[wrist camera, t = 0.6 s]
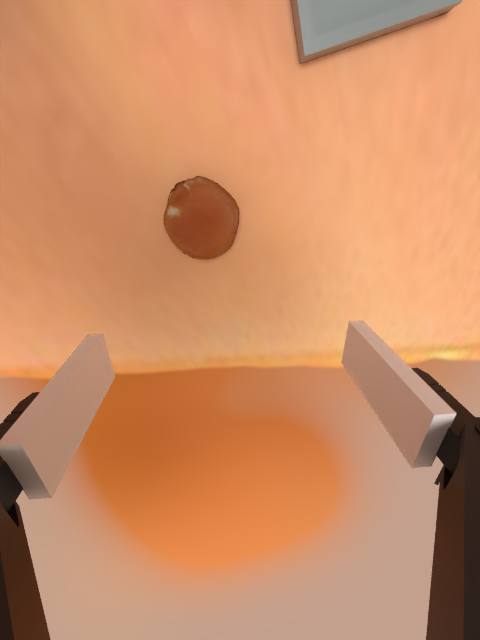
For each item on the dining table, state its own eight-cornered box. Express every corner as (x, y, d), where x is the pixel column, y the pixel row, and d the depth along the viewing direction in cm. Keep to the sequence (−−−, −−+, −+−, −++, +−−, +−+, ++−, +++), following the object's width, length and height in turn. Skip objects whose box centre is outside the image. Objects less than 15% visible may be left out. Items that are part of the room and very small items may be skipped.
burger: (237, 255, 39) (239, 263, 35) (171, 255, 38) (165, 263, 34) (238, 177, 35) (240, 176, 30) (164, 176, 34) (156, 174, 30)
